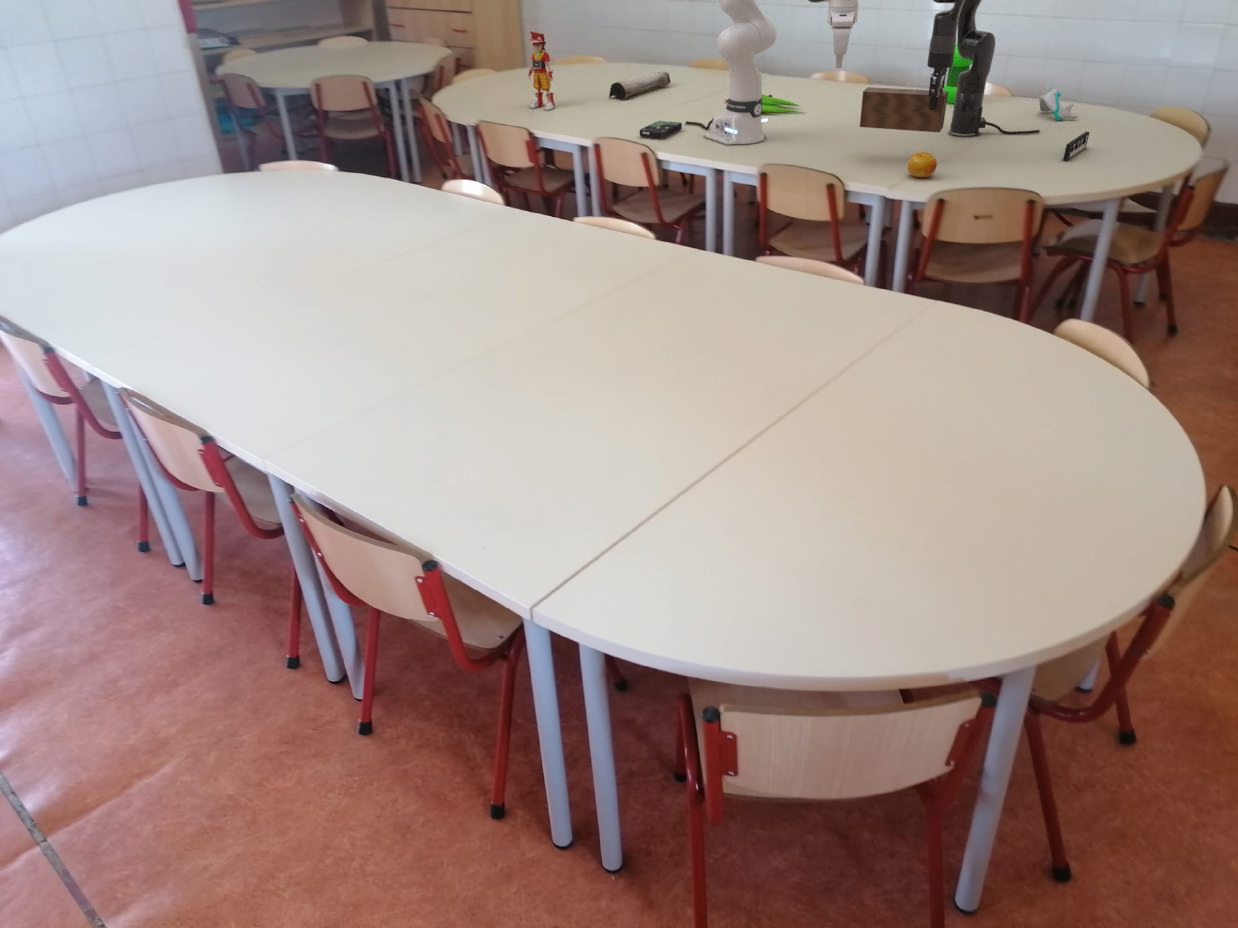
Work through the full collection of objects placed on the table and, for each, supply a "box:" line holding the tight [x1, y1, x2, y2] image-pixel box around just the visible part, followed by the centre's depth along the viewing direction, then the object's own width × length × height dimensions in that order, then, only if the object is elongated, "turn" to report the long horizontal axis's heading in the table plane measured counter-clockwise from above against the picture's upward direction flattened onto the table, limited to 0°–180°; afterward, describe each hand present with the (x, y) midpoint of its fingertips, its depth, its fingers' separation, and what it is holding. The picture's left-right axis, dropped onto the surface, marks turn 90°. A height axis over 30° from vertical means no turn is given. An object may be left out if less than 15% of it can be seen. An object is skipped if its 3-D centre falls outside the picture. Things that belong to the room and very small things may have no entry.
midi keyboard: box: [1062, 131, 1091, 161], centre depth 291 cm, size 18×1×5 cm, turn 138°
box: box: [859, 86, 948, 133], centre depth 289 cm, size 26×6×11 cm, turn 63°
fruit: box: [907, 151, 938, 179], centre depth 280 cm, size 8×8×8 cm
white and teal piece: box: [1038, 88, 1078, 121], centre depth 328 cm, size 15×10×10 cm
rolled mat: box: [608, 71, 672, 101], centre depth 395 cm, size 30×9×10 cm
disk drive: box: [639, 120, 683, 140], centre depth 338 cm, size 10×3×15 cm
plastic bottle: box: [943, 43, 973, 104], centre depth 348 cm, size 10×10×25 cm
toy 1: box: [527, 31, 556, 111], centre depth 374 cm, size 12×9×30 cm
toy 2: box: [761, 93, 804, 114], centre depth 358 cm, size 28×5×30 cm
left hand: (838, 64), depth 283 cm, fingers open, 8 cm apart
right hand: (934, 107), depth 284 cm, fingers closed on box, 6 cm apart
